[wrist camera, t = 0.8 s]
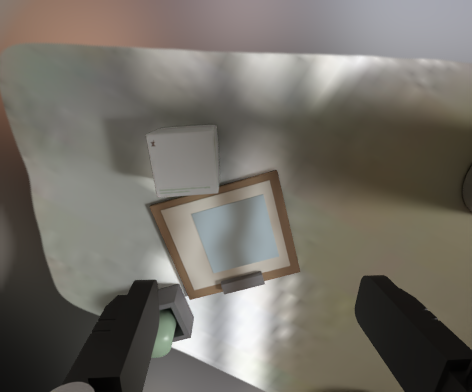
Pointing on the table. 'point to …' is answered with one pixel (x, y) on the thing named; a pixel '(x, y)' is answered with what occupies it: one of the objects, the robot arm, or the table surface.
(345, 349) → the table surface
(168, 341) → the button
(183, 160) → the small box
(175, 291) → the button housing
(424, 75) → the table surface
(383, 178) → the table surface
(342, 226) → the table surface
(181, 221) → the picture frame
